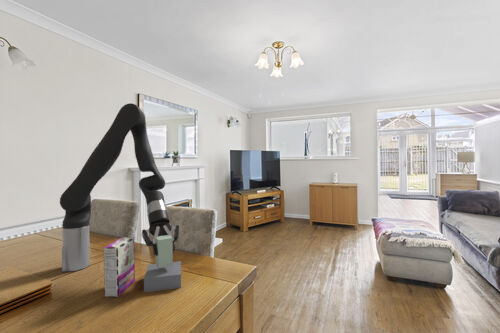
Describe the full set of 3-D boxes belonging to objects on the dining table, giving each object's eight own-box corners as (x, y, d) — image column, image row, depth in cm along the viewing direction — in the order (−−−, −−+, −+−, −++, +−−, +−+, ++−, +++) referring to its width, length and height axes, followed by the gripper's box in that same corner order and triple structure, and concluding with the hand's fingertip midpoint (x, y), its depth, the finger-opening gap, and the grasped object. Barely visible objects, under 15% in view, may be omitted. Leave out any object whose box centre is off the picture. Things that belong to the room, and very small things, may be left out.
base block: (144, 293, 82) (144, 278, 82) (148, 277, 94) (148, 264, 94) (181, 288, 85) (181, 274, 85) (180, 273, 97) (180, 261, 97)
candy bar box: (121, 281, 90) (121, 236, 90) (135, 281, 90) (135, 236, 90) (103, 297, 79) (102, 246, 79) (118, 297, 79) (118, 247, 79)
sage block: (158, 268, 86) (158, 240, 86) (155, 263, 90) (155, 236, 90) (172, 265, 89) (172, 237, 88) (169, 260, 93) (169, 234, 93)
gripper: (139, 210, 92) (145, 252, 82) (177, 207, 99) (186, 244, 89) (137, 221, 96) (142, 262, 86) (174, 217, 104) (182, 254, 94)
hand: (165, 253), depth 88 cm, fingers closed on sage block, 4 cm apart
